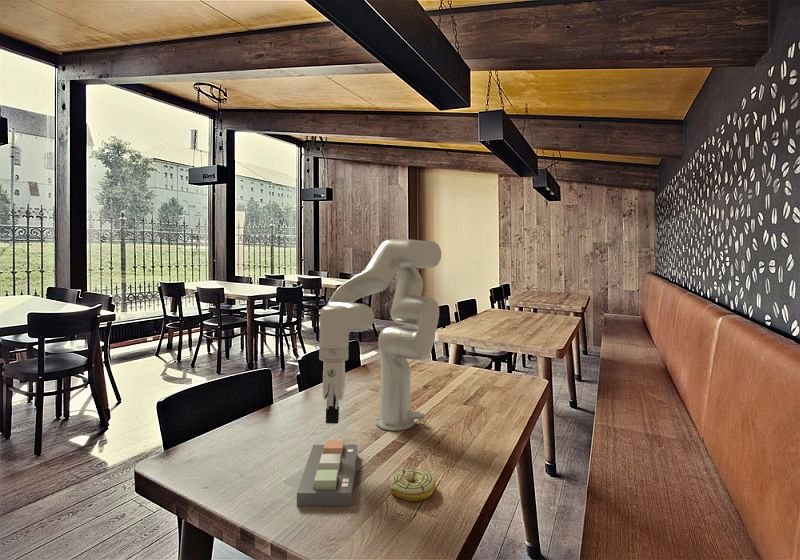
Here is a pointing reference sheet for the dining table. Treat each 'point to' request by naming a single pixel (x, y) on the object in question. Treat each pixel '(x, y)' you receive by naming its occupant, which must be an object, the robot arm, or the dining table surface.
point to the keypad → (344, 486)
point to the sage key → (326, 480)
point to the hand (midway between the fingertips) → (332, 422)
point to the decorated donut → (412, 484)
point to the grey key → (330, 462)
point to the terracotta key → (334, 447)
